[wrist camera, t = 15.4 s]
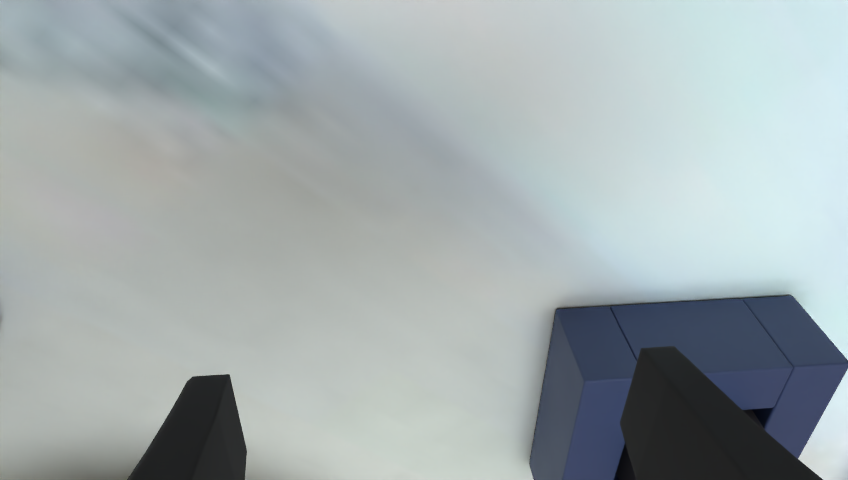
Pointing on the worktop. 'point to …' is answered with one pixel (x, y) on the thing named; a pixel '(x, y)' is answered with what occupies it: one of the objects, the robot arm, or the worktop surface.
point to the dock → (705, 347)
